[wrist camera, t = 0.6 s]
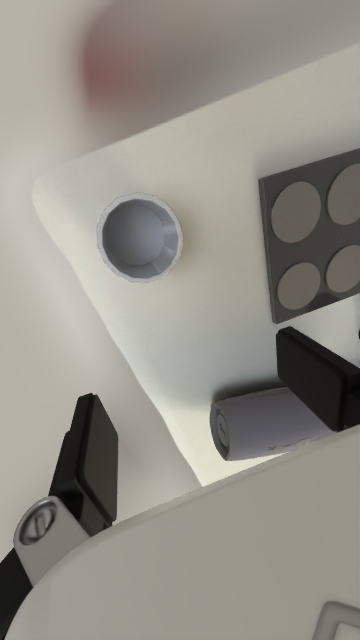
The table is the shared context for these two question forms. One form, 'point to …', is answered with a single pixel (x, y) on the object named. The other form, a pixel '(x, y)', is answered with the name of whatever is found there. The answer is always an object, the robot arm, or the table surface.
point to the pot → (139, 238)
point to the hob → (312, 234)
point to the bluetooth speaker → (263, 424)
